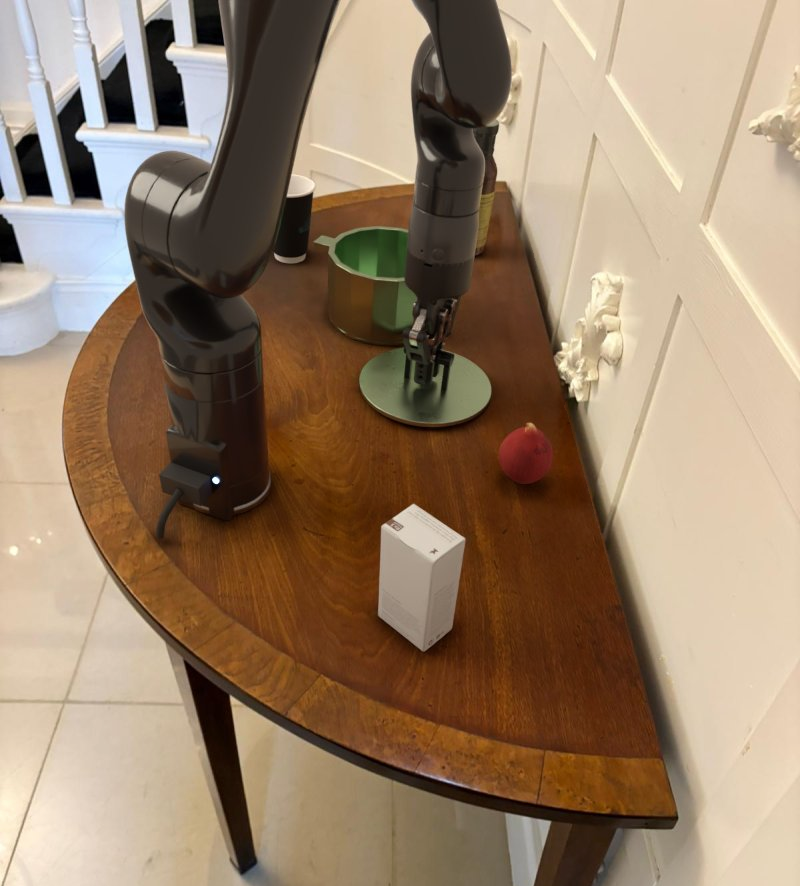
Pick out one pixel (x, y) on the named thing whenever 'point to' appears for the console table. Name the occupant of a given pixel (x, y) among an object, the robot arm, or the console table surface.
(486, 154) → the sauce bottle
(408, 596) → the cosmetic box
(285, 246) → the dixie cup
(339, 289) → the pot
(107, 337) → the console table surface
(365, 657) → the console table surface
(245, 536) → the console table surface
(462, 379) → the lid
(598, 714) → the console table surface
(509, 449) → the onion
